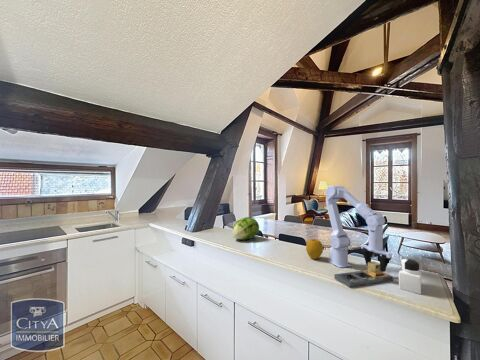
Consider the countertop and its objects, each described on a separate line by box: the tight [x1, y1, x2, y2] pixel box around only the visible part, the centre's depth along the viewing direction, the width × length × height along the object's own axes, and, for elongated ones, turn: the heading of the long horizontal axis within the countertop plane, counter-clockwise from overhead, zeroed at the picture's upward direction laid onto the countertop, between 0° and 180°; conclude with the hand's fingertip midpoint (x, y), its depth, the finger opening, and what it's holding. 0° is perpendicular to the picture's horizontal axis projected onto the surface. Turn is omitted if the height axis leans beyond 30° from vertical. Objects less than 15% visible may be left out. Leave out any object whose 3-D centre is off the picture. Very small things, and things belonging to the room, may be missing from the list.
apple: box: [305, 238, 324, 260], centre depth 124 cm, size 10×10×12 cm
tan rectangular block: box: [367, 261, 382, 276], centre depth 99 cm, size 4×4×7 cm
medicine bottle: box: [398, 258, 422, 295], centre depth 89 cm, size 7×7×12 cm
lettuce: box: [232, 216, 260, 241], centre depth 167 cm, size 18×23×19 cm
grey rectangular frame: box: [333, 269, 394, 289], centre depth 97 cm, size 9×25×2 cm, turn 107°
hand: (375, 267), depth 99 cm, fingers open, 7 cm apart
